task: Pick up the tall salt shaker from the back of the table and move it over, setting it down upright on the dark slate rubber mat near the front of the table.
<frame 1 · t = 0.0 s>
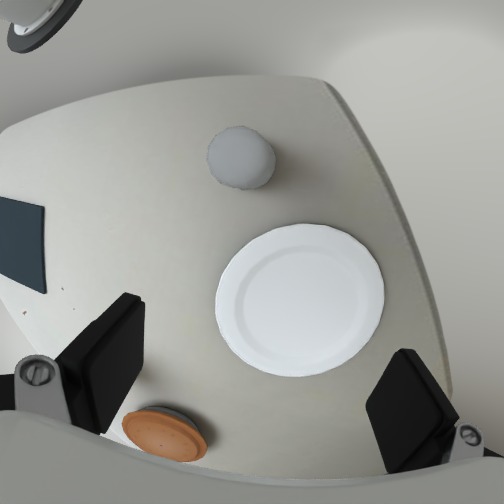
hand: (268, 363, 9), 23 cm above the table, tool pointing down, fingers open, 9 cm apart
mat: (17, 242, 34), on the table
salt shaker: (248, 162, 30), on the table
pie: (168, 424, 42), on the table
plate: (301, 304, 34), on the table
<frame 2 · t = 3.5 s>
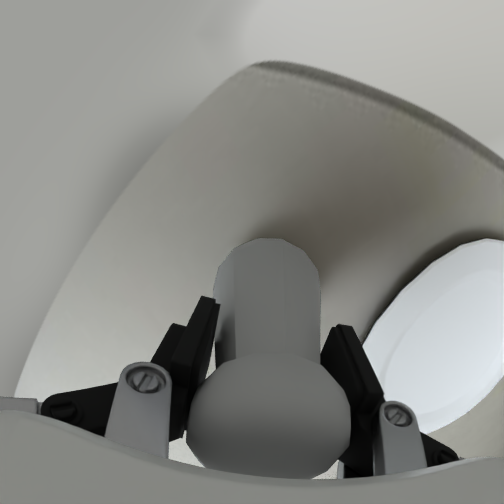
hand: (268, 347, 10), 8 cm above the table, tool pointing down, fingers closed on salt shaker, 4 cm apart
salt shaker: (267, 274, 18), on the table, touching gripper
plate: (450, 349, 19), on the table
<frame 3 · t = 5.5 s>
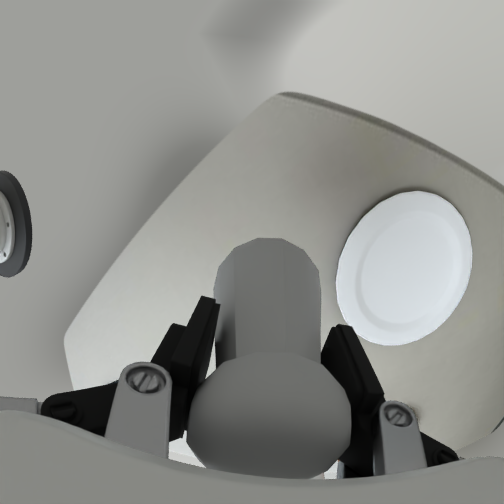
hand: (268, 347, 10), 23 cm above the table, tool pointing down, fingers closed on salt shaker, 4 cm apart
salt shaker: (267, 273, 18), point 15 cm above the table, touching gripper
plate: (407, 271, 33), on the table
drinking glass: (296, 420, 41), on the table
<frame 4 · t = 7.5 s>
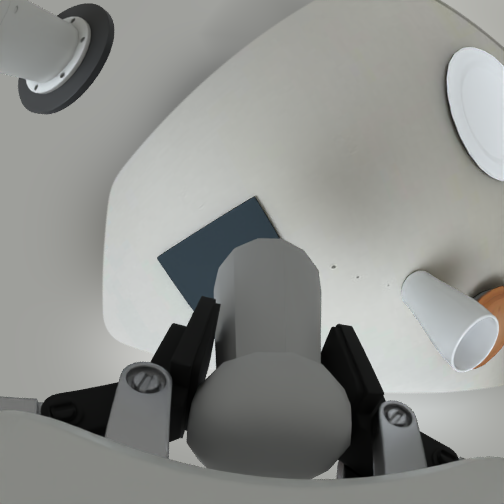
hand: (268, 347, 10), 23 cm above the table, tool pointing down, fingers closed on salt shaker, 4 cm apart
mat: (234, 276, 34), on the table
salt shaker: (267, 274, 18), point 15 cm above the table, touching gripper
pie: (477, 320, 35), on the table
plate: (490, 112, 26), on the table
drinking glass: (415, 287, 34), on the table
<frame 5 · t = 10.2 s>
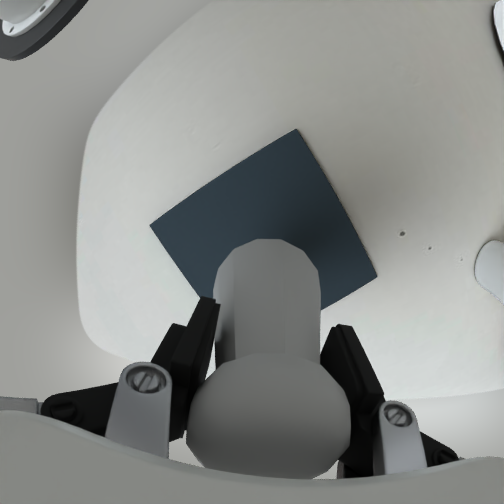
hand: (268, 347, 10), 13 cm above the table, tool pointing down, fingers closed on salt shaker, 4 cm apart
mat: (266, 249, 23), on the table
salt shaker: (267, 274, 18), point 6 cm above the table, touching gripper
drinking glass: (487, 262, 23), on the table
when the fingers open (8 cm above the table, at t = 11.8 s): salt shaker stays where it is, resting on mat.
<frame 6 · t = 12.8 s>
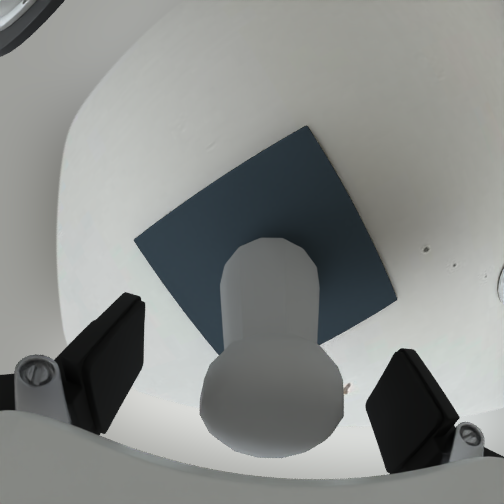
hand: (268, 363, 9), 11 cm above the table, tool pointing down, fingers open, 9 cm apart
mat: (271, 269, 19), on the table
salt shaker: (269, 271, 19), resting on mat
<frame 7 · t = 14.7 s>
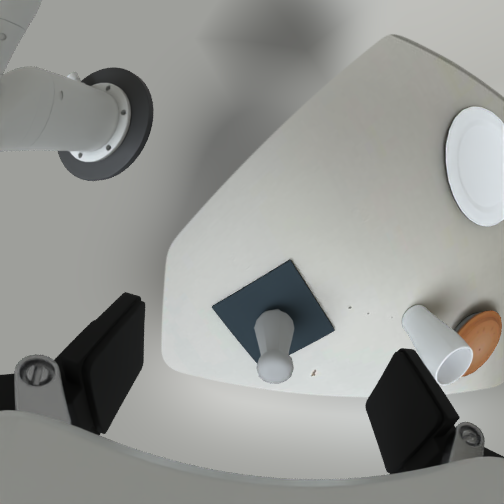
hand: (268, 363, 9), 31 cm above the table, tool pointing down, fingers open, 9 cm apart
mat: (274, 318, 43), on the table
salt shaker: (274, 319, 43), resting on mat
pie: (467, 336, 43), on the table
plate: (482, 165, 34), on the table
drinking glass: (413, 316, 42), on the table
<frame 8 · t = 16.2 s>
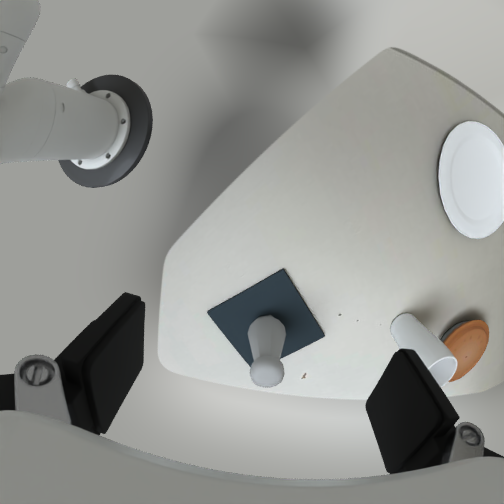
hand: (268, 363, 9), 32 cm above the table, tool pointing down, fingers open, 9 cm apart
mat: (267, 324, 45), on the table
salt shaker: (266, 325, 45), resting on mat
pie: (454, 343, 46), on the table
plate: (475, 179, 36), on the table
drinking glass: (401, 324, 45), on the table
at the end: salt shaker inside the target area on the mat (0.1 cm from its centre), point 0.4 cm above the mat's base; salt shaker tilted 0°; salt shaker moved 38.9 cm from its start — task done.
